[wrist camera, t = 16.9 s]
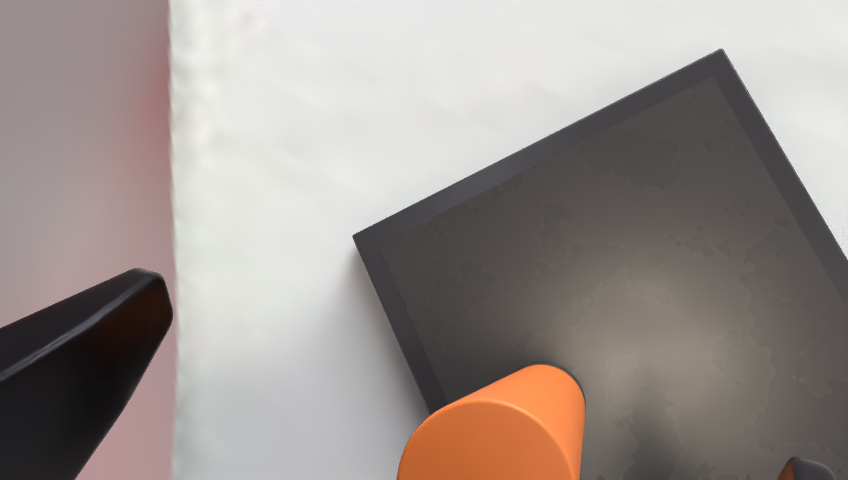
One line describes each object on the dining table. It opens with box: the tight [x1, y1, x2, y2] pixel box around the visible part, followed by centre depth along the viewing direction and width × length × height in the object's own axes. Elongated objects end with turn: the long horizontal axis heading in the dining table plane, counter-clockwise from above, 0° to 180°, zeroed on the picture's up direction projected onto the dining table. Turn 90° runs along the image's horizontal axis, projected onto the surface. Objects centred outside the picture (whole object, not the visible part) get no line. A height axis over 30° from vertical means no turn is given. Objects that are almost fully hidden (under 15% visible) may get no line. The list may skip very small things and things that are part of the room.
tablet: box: [353, 49, 848, 480], centre depth 22 cm, size 20×13×1 cm, turn 25°
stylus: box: [397, 363, 586, 480], centre depth 16 cm, size 2×2×13 cm
